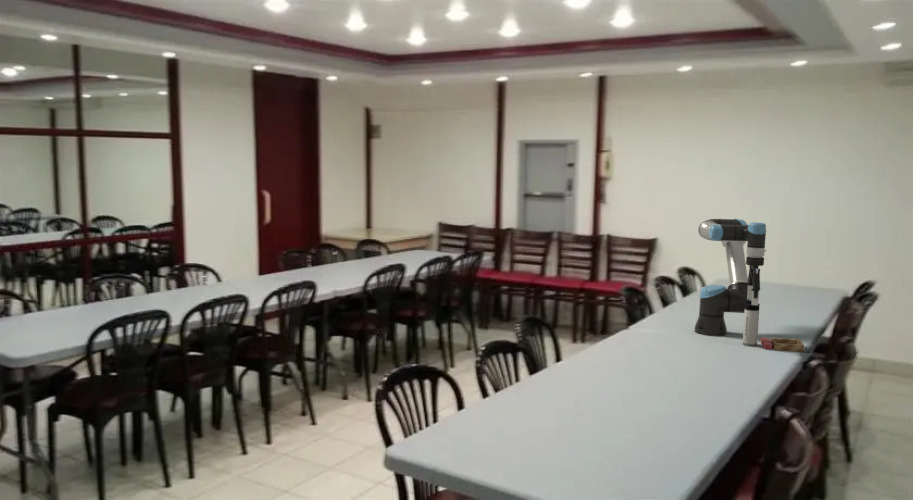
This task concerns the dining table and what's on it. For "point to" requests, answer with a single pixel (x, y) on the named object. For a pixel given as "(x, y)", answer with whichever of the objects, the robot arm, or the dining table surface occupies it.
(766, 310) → the dining table surface
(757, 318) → the travel mug
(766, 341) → the door edge strip
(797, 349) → the box
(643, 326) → the dining table surface
